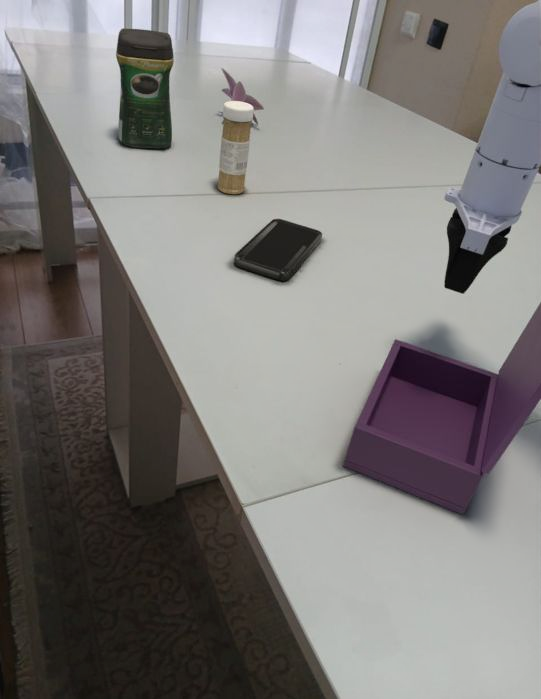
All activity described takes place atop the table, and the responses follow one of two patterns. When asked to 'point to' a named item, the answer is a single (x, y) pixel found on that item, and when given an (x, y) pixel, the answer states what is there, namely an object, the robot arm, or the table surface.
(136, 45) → the coffee jar
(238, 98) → the lily
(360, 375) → the table surface
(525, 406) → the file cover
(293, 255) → the phone
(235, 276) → the table surface
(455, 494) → the box
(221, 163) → the sprinkles bottle
